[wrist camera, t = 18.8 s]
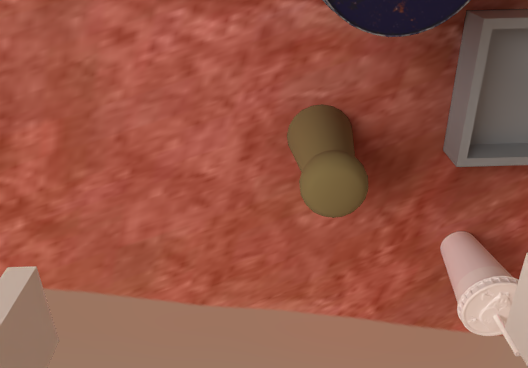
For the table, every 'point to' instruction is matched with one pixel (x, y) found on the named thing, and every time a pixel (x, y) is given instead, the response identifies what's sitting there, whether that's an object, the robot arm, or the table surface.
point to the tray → (490, 91)
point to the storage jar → (395, 14)
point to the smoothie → (479, 286)
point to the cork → (327, 161)
